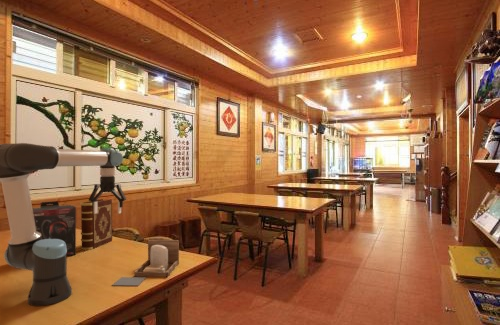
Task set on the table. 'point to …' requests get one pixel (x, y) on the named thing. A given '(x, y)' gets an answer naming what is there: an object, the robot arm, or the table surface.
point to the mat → (129, 281)
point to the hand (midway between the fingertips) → (107, 213)
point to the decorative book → (96, 224)
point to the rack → (172, 258)
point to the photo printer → (159, 256)
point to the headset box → (57, 223)
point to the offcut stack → (154, 268)
